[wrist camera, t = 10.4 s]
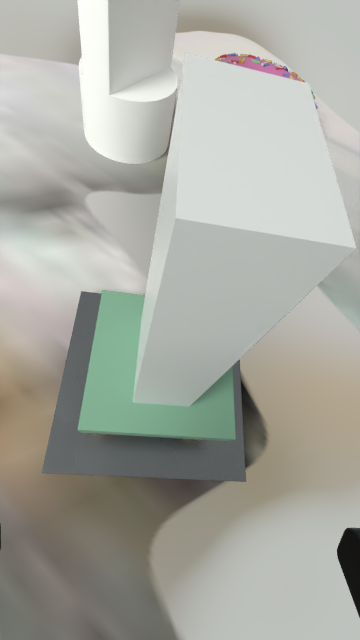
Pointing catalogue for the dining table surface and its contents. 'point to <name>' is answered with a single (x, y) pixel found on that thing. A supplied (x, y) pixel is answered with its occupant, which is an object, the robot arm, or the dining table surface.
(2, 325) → the dining table surface
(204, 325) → the column on green base
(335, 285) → the dining table surface
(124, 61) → the cylinder with rectangular tab
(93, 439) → the plate
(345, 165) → the dining table surface
